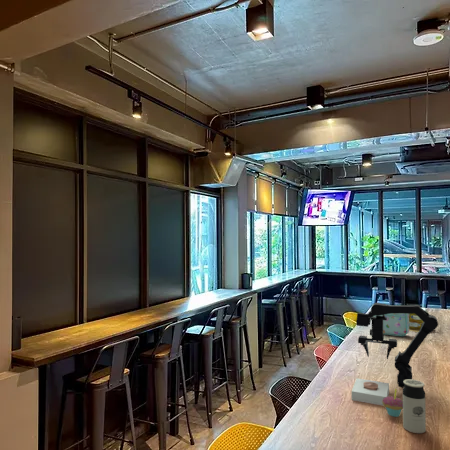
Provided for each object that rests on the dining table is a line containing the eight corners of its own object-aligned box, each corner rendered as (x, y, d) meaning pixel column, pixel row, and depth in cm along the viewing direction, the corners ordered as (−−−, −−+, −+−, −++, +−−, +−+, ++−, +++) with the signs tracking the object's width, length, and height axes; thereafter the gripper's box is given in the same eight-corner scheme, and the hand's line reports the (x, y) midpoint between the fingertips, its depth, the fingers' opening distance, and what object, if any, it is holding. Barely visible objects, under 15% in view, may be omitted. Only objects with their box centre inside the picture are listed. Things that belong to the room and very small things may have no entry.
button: (378, 391, 186) (378, 383, 186) (377, 396, 180) (377, 387, 180) (364, 389, 189) (364, 380, 189) (362, 394, 183) (362, 385, 183)
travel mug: (401, 422, 158) (401, 377, 158) (423, 425, 156) (422, 380, 156) (404, 432, 150) (404, 385, 151) (427, 435, 148) (427, 387, 149)
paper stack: (429, 334, 299) (428, 312, 299) (395, 328, 316) (395, 307, 316) (437, 328, 317) (437, 307, 318) (405, 323, 334) (405, 303, 334)
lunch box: (369, 333, 301) (369, 305, 302) (373, 330, 310) (372, 303, 310) (407, 338, 286) (407, 309, 287) (409, 335, 295) (409, 306, 295)
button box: (389, 391, 189) (389, 383, 189) (386, 406, 173) (386, 397, 173) (356, 386, 196) (356, 378, 196) (351, 399, 180) (351, 391, 180)
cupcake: (409, 417, 163) (408, 388, 163) (391, 420, 160) (391, 390, 161) (394, 408, 171) (394, 380, 171) (378, 411, 168) (377, 383, 169)
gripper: (397, 326, 207) (397, 356, 206) (360, 322, 215) (360, 351, 214) (396, 330, 197) (397, 362, 196) (357, 327, 205) (358, 357, 204)
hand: (377, 357), depth 203 cm, fingers open, 9 cm apart
